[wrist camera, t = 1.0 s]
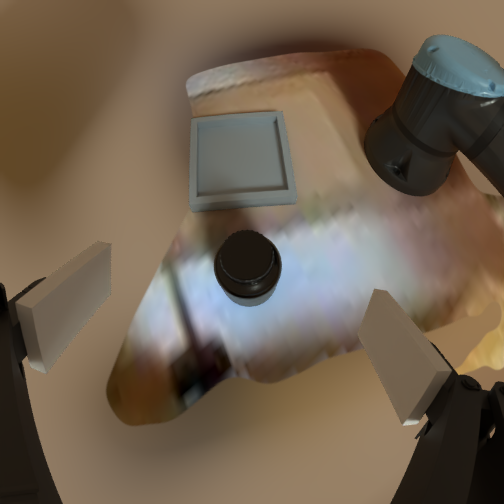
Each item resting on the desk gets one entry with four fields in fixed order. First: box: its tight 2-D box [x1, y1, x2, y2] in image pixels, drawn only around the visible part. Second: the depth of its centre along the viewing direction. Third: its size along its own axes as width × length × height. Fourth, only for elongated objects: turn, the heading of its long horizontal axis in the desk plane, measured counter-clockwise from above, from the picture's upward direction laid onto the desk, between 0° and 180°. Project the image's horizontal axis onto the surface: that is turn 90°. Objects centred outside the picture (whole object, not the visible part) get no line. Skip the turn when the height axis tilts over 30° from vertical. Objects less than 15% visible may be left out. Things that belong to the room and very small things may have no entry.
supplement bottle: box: [214, 230, 282, 307], centre depth 33 cm, size 7×7×12 cm
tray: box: [189, 111, 297, 212], centre depth 42 cm, size 14×15×2 cm
